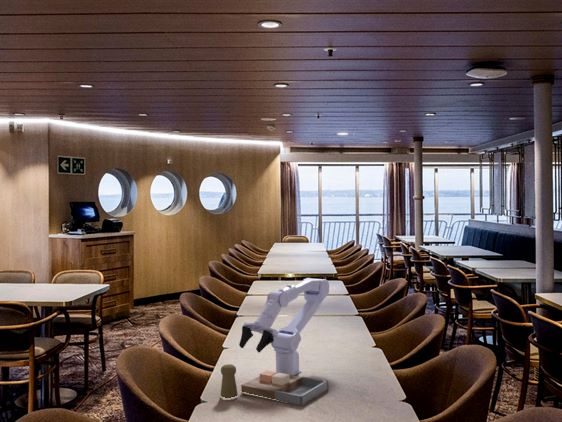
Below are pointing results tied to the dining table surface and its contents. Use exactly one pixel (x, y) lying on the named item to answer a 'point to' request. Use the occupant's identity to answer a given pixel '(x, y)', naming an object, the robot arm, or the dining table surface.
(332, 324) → the dining table surface
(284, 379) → the cream tile
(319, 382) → the box
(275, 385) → the tan slab
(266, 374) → the terracotta tile
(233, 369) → the cork
